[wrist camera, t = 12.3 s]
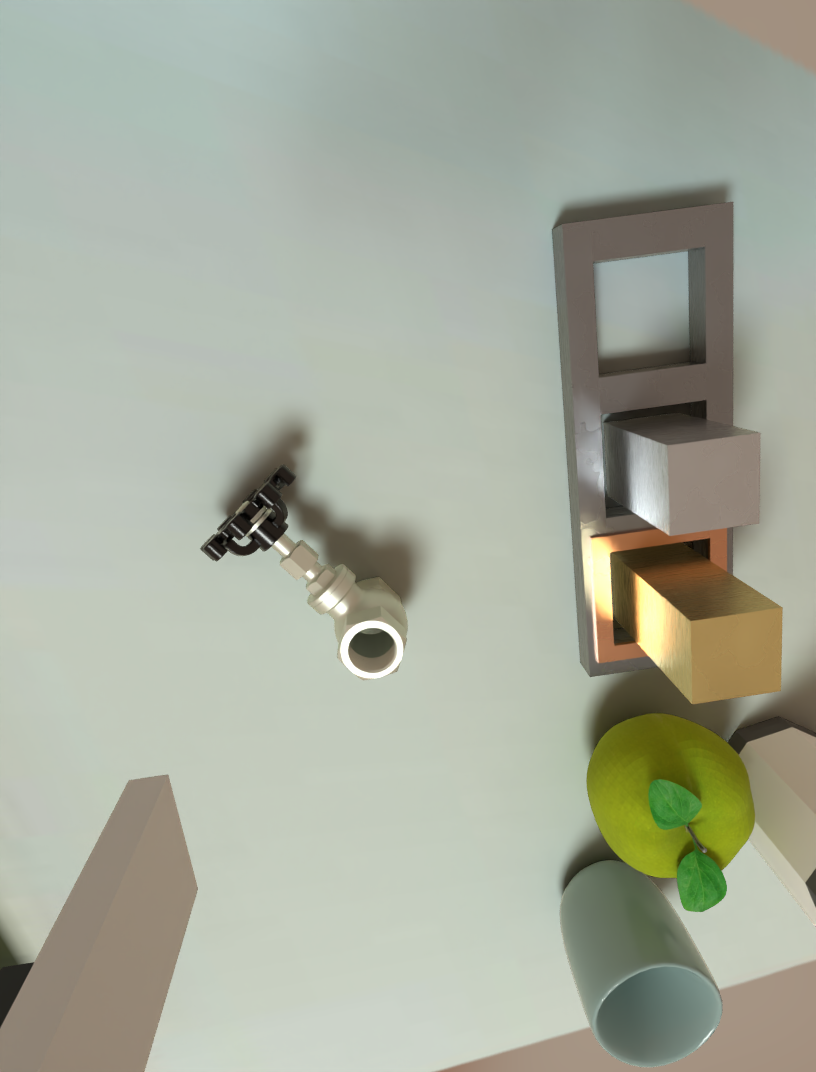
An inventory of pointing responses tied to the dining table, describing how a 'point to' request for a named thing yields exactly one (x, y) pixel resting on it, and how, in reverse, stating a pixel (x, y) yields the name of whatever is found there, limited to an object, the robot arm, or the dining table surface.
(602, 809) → the fruit
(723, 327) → the grey compartment tray
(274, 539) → the valve
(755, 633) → the brass block
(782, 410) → the dining table surface
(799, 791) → the wine bottle
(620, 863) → the cup
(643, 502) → the grey rectangular block
